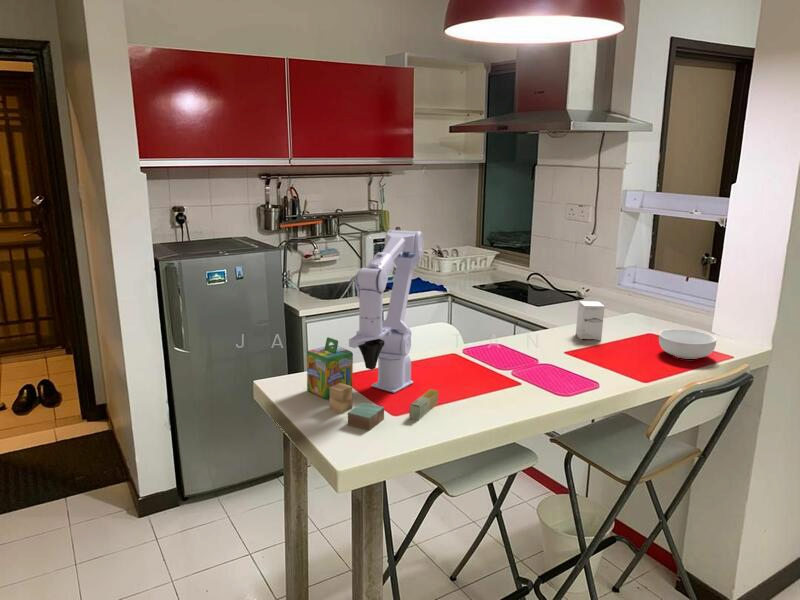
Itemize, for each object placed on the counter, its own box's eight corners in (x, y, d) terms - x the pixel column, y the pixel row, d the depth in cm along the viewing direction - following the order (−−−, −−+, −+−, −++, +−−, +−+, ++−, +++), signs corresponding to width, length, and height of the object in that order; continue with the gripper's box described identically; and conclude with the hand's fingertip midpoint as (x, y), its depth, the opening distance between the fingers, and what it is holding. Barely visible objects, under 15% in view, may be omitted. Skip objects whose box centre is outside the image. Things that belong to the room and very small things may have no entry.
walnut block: (362, 402, 149) (347, 412, 143) (384, 407, 146) (369, 418, 140) (363, 415, 150) (347, 426, 144) (384, 420, 147) (369, 431, 141)
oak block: (340, 404, 155) (340, 382, 154) (352, 408, 153) (352, 386, 152) (329, 409, 152) (329, 387, 151) (341, 413, 150) (341, 391, 149)
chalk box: (306, 391, 164) (304, 339, 160) (333, 382, 170) (332, 332, 167) (327, 400, 158) (326, 347, 154) (354, 391, 164) (353, 339, 160)
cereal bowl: (676, 345, 206) (679, 325, 205) (724, 359, 193) (727, 338, 191) (646, 353, 197) (648, 333, 196) (693, 368, 184) (696, 346, 182)
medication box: (418, 422, 146) (419, 406, 145) (408, 419, 147) (409, 404, 146) (438, 404, 157) (439, 390, 156) (428, 402, 158) (429, 387, 157)
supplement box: (580, 340, 211) (583, 305, 208) (575, 334, 218) (578, 300, 215) (601, 340, 210) (605, 305, 207) (595, 334, 217) (599, 300, 214)
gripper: (376, 308, 157) (375, 357, 160) (339, 319, 145) (339, 372, 148) (398, 312, 153) (397, 363, 156) (361, 324, 141) (361, 378, 144)
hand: (370, 368), depth 152 cm, fingers closed
